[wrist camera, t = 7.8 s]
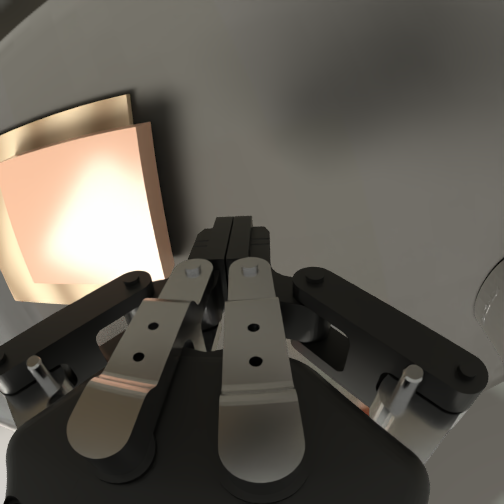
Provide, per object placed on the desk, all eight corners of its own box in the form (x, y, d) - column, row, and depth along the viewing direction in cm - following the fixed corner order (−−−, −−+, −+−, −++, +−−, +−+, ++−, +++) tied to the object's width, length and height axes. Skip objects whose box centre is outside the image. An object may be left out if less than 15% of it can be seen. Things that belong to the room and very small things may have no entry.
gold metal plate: (129, 94, 16) (126, 94, 16) (169, 302, 24) (167, 307, 24) (-32, 150, 17) (-36, 152, 16) (18, 297, 25) (15, 300, 24)
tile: (135, 126, 14) (-6, 164, 15) (165, 284, 19) (34, 283, 20) (150, 121, 16) (14, 155, 17) (174, 264, 21) (48, 267, 22)
